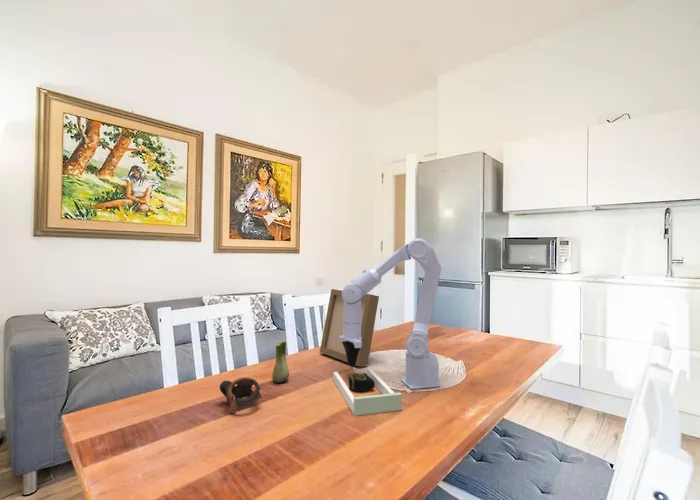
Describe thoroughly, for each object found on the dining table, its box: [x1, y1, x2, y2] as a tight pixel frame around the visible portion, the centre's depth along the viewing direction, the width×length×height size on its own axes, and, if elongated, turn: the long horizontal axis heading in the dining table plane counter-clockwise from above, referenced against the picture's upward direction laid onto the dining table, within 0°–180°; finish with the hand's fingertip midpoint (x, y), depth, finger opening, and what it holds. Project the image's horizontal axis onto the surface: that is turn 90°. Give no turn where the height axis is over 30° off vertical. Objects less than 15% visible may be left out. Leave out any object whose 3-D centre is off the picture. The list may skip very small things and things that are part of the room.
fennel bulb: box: [271, 340, 290, 384], centre depth 109 cm, size 6×5×12 cm
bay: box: [332, 368, 403, 417], centre depth 100 cm, size 12×24×4 cm, turn 15°
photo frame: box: [319, 288, 380, 367], centre depth 133 cm, size 15×22×25 cm
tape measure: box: [348, 372, 376, 392], centre depth 103 cm, size 7×7×4 cm
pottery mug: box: [219, 376, 263, 415], centre depth 91 cm, size 12×10×8 cm
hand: (351, 364), depth 112 cm, fingers closed
